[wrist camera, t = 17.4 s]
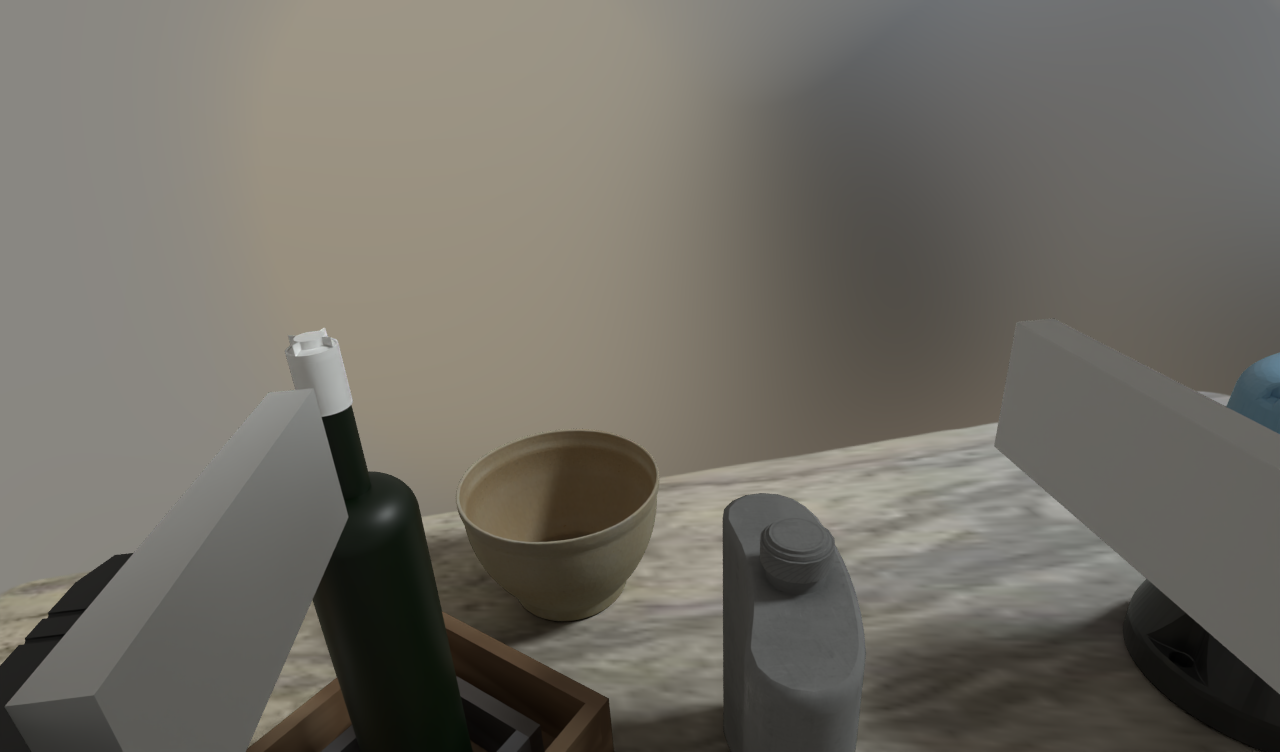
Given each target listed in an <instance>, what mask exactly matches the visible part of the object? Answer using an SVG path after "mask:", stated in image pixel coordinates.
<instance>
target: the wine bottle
mask: <svg viewBox="0 0 1280 752" xmlns="http://www.w3.org/2000/svg"><path fill="white" fill-rule="evenodd" d="M288 338H289V342H290V346H289V347H288V348H287V349H286V350H285V354H286V357H287V361H288V365H289V368H290V372H291V375H292V379H293V383H294V386H295V390H301V389H312V388H314V391H315V395H316V399H317V403H318V406H319V410H320V414H321V417H322V421H323V425H324V428H325V432H326V436H327V439H328V443H329V447H330V450H331V454H332V458H333V462H334V465H335V469H336V473H337V476H338V480H339V484H340V487H341V491H342V495H343V498H344V502H345V506H346V510H347V513H348V519H347V522H346V524H345V526H344V529H343V531H342V533H341V535H340V538H339V540H338V542H337V545H336V547H335V549H334V551H333V554H332V556H331V558H330V561H329V563H328V565H327V567H326V570H325V572H324V574H323V577H322V579H321V581H320V583H319V586H318V588H317V590H316V593H315V595H314V597H313V603H314V606H315V609H316V612H317V615H318V618H319V622H320V625H321V628H322V631H323V634H324V637H325V641H326V644H327V647H328V650H329V653H330V657H331V660H332V663H333V666H334V669H335V672H336V676H337V679H338V682H339V685H340V688H341V691H342V695H343V698H344V701H345V704H346V707H347V710H348V714H349V717H350V720H351V723H352V726H353V729H354V733H355V736H356V739H357V742H358V745H359V749H360V752H473V751H472V746H471V742H470V737H469V733H468V728H467V723H466V719H465V714H464V710H463V705H462V701H461V696H460V691H459V687H458V682H457V678H456V673H455V669H454V664H453V660H452V655H451V650H450V646H449V641H448V637H447V632H446V628H445V623H444V618H443V614H442V609H441V605H440V600H439V596H438V591H437V587H436V582H435V577H434V573H433V568H432V564H431V559H430V555H429V550H428V545H427V541H426V536H425V532H424V527H423V523H422V518H421V514H420V509H419V505H418V501H417V499H416V497H415V495H414V493H413V492H412V490H411V489H410V488H409V487H408V486H407V485H406V484H405V483H404V482H403V481H401V480H400V479H398V478H396V477H394V476H392V475H388V474H385V473H380V472H368V470H367V466H366V462H365V458H364V454H363V450H362V446H361V442H360V438H359V434H358V430H357V426H356V421H355V417H354V413H353V409H352V406H351V404H352V402H353V401H352V396H351V392H350V388H349V384H348V380H347V376H346V372H345V368H344V364H343V360H342V356H341V352H340V348H339V344H338V341H337V340H336V339H334V338H331V337H328V335H327V333H326V329H325V328H323V329H321V330H319V331H311V332H306V333H302V334H300V335H297V336H293V335H288Z"/></svg>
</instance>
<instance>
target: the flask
mask: <svg viewBox="0 0 1280 752" xmlns="http://www.w3.org/2000/svg"><path fill="white" fill-rule="evenodd" d="M865 657H866V651H865V638H864V629H863V623H862V617H861V612H860V608H859V604H858V600H857V596H856V592H855V590H854V587H853V584H852V581H851V578H850V575H849V573H848V570H847V568H846V566H845V563H844V561H843V559H842V557H841V555H840V553H839V551H838V549H837V547H836V546H835V542H834V537H833V536H832V535H831V533H830V532H829V530H827V529H826V528H824V527H823V525H822V524H821V523H820V521H819V520H818V519H817V517H816V516H815V515H814V514H813V513H812V512H810V511H809V510H808V509H807V508H806V507H805V506H803V505H802V504H800V503H798V502H797V501H795V500H794V499H791V498H788V497H785V496H781V495H778V494H766V493H759V494H752V495H745V496H743V497H741V498H738V499H736V500H734V501H732V502H731V503H730V504H729V505H728V506H727V507H726V508H725V509H724V514H723V690H724V734H725V737H726V740H727V742H728V745H729V748H730V751H731V752H855V750H856V741H857V731H858V722H859V713H860V704H861V694H862V685H863V676H864V667H865Z"/></svg>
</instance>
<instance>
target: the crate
mask: <svg viewBox="0 0 1280 752" xmlns="http://www.w3.org/2000/svg"><path fill="white" fill-rule="evenodd" d="M442 614H443V618H444V623H445V628H446V632H447V637H448V641H449V646H450V650H451V655H452V660H453V664H454V669H455V673H456V678H457V682H458V687H459V691H460V696H461V701H462V705H463V710H464V714H465V719H466V723H467V728H468V733H469V737H470V742H471V746H472V751H473V752H614V748H613V738H612V728H611V718H610V708H609V698H607V697H605V696H603V695H601V694H599V693H597V692H595V691H593V690H592V689H590V688H588V687H586V686H584V685H582V684H580V683H578V682H576V681H574V680H572V679H570V678H569V677H567V676H565V675H563V674H561V673H559V672H557V671H555V670H553V669H551V668H549V667H548V666H546V665H544V664H542V663H540V662H538V661H536V660H534V659H532V658H530V657H528V656H527V655H525V654H523V653H521V652H519V651H517V650H515V649H513V648H511V647H509V646H507V645H506V644H504V643H502V642H500V641H498V640H496V639H494V638H492V637H490V636H488V635H486V634H485V633H483V632H481V631H479V630H477V629H475V628H473V627H471V626H469V625H467V624H465V623H463V622H462V621H460V620H458V619H456V618H454V617H452V616H450V615H448V614H446V613H444V612H442ZM246 752H360V749H359V745H358V742H357V739H356V736H355V733H354V729H353V726H352V723H351V720H350V717H349V714H348V710H347V707H346V704H345V701H344V698H343V695H342V691H341V688H340V685H339V682H338V679H337V678H336V679H334V680H333V681H332V682H331V683H329V684H328V685H327V686H326V687H324V688H323V689H322V690H321V691H319V692H318V693H317V694H316V695H314V696H313V697H312V698H311V699H309V700H308V701H307V702H306V703H304V704H303V705H302V706H301V707H299V708H298V709H297V710H296V711H294V712H293V713H292V714H291V715H289V716H288V717H287V718H286V719H284V720H283V721H282V722H281V723H279V724H278V725H277V726H276V727H274V728H273V729H272V730H271V731H269V732H268V733H267V734H265V735H264V736H263V737H262V738H260V739H259V740H258V741H257V742H255V743H254V744H253V745H252V746H250V747H249V748H248V749H247V750H246Z"/></svg>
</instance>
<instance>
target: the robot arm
mask: <svg viewBox="0 0 1280 752" xmlns="http://www.w3.org/2000/svg"><path fill="white" fill-rule="evenodd" d="M994 446H995V447H996V448H997V449H998V450H999V451H1000V452H1002V453H1003V454H1004V455H1005V456H1006V457H1007V458H1008V459H1010V460H1011V461H1012V462H1013V463H1014V464H1015V465H1016V466H1018V467H1019V468H1020V469H1021V470H1022V471H1023V472H1025V473H1026V474H1027V475H1028V476H1029V477H1030V478H1031V479H1033V480H1034V481H1035V482H1036V483H1037V484H1038V485H1039V486H1041V487H1042V488H1043V489H1044V490H1045V491H1046V492H1048V493H1049V494H1050V495H1051V496H1052V497H1053V498H1054V499H1056V500H1057V501H1058V502H1059V503H1060V504H1061V505H1062V506H1064V507H1065V508H1066V509H1067V510H1068V511H1069V512H1071V513H1072V514H1073V515H1074V516H1075V517H1076V518H1077V519H1079V520H1080V521H1081V522H1082V523H1083V524H1084V525H1086V526H1087V527H1088V528H1089V529H1090V530H1091V531H1092V532H1094V533H1095V534H1096V535H1097V536H1098V537H1099V538H1100V539H1102V540H1103V541H1104V542H1105V543H1106V544H1107V545H1109V546H1110V547H1111V548H1112V549H1113V550H1114V551H1115V552H1117V553H1118V554H1119V555H1120V556H1121V557H1122V558H1123V559H1125V560H1126V561H1127V562H1128V563H1129V564H1130V565H1132V566H1133V567H1134V568H1135V569H1136V570H1137V571H1138V572H1140V573H1141V574H1142V575H1143V576H1144V577H1145V578H1146V580H1145V581H1144V582H1143V583H1142V584H1141V585H1140V586H1139V587H1138V589H1137V590H1136V591H1135V593H1134V595H1133V596H1132V599H1131V601H1130V604H1129V607H1128V611H1127V614H1126V617H1125V621H1124V625H1123V633H1124V639H1125V643H1126V646H1127V648H1128V650H1129V652H1130V655H1131V656H1132V658H1133V660H1134V661H1135V663H1136V664H1137V666H1138V667H1139V668H1140V670H1141V671H1142V672H1143V673H1144V675H1145V676H1146V677H1147V678H1148V679H1149V680H1150V681H1151V682H1152V683H1153V684H1154V685H1155V686H1156V687H1157V688H1158V689H1159V690H1160V691H1161V692H1162V693H1163V694H1165V695H1166V696H1167V697H1168V698H1169V699H1170V700H1172V701H1173V702H1174V703H1176V704H1177V705H1178V706H1180V707H1181V708H1182V709H1184V710H1185V711H1187V712H1188V713H1189V714H1191V715H1193V716H1194V717H1196V718H1197V719H1199V720H1200V721H1202V722H1204V723H1205V724H1207V725H1209V726H1210V727H1212V728H1214V729H1216V730H1218V731H1220V732H1222V733H1223V734H1225V735H1227V736H1229V737H1232V738H1234V739H1236V740H1238V741H1240V742H1242V743H1245V744H1247V745H1249V746H1252V747H1254V748H1257V749H1260V750H1262V751H1265V752H1280V353H1277V354H1274V355H1271V356H1268V357H1266V358H1263V359H1262V360H1259V361H1257V362H1256V363H1254V364H1252V365H1251V366H1250V367H1248V368H1247V369H1246V370H1245V371H1244V372H1243V373H1242V374H1241V376H1240V377H1239V379H1238V380H1237V383H1236V385H1235V387H1234V390H1233V392H1232V394H1231V397H1230V399H1229V402H1228V404H1227V406H1224V405H1222V404H1220V403H1218V402H1216V401H1214V400H1212V399H1210V398H1208V397H1206V396H1204V395H1202V394H1200V393H1198V392H1196V391H1194V390H1192V389H1191V388H1189V387H1187V386H1185V385H1182V384H1181V383H1179V382H1177V381H1175V380H1173V379H1171V378H1169V377H1167V376H1165V375H1163V374H1161V373H1159V372H1157V371H1155V370H1153V369H1151V368H1149V367H1148V366H1146V365H1144V364H1142V363H1140V362H1138V361H1136V360H1134V359H1132V358H1130V357H1128V356H1126V355H1124V354H1122V353H1120V352H1118V351H1116V350H1114V349H1112V348H1111V347H1109V346H1107V345H1105V344H1103V343H1101V342H1099V341H1097V340H1095V339H1093V338H1091V337H1089V336H1087V335H1085V334H1083V333H1081V332H1079V331H1077V330H1076V329H1074V328H1072V327H1070V326H1067V325H1066V324H1064V323H1062V322H1060V321H1058V320H1056V319H1044V320H1033V321H1022V322H1017V323H1016V329H1015V334H1014V340H1013V345H1012V351H1011V356H1010V362H1009V367H1008V374H1007V379H1006V384H1005V390H1004V395H1003V401H1002V407H1001V412H1000V417H999V423H998V428H997V434H996V439H995V445H994ZM347 519H348V513H347V510H346V506H345V502H344V498H343V495H342V491H341V487H340V484H339V480H338V476H337V473H336V469H335V465H334V462H333V458H332V454H331V450H330V447H329V443H328V439H327V436H326V432H325V428H324V425H323V421H322V417H321V414H320V410H319V406H318V403H317V399H316V395H315V391H314V388H312V389H301V390H291V391H280V392H269V393H268V394H267V395H266V396H265V398H264V399H263V400H262V401H261V402H260V404H259V405H258V406H257V407H256V408H255V410H254V411H253V412H252V413H251V414H250V415H249V417H248V418H247V419H246V420H245V421H244V423H243V424H242V425H241V426H240V427H239V428H238V430H237V431H236V432H235V433H234V435H233V436H232V437H231V438H230V439H229V441H228V442H227V443H226V444H225V445H224V446H223V447H222V449H221V450H220V451H219V452H218V453H217V455H216V456H215V457H214V458H213V459H212V461H211V462H210V463H209V464H208V465H207V467H206V468H205V469H204V470H203V471H202V473H201V474H200V475H199V476H198V477H197V478H196V480H195V481H194V482H193V483H192V484H191V486H190V487H189V488H188V489H187V490H186V492H185V493H184V494H183V495H182V497H180V499H179V500H178V501H177V502H176V503H175V505H174V506H173V507H172V508H171V510H170V511H169V512H168V513H167V514H166V515H165V516H164V518H163V519H162V520H161V521H160V523H159V524H158V525H157V526H156V527H155V528H154V530H153V531H152V532H151V533H150V534H149V535H148V537H147V538H146V539H145V540H144V541H143V543H142V544H141V545H140V546H139V547H138V549H137V550H136V551H135V552H134V553H130V554H121V555H114V556H113V557H111V558H110V559H109V560H107V561H106V562H104V563H103V564H101V565H100V566H99V567H97V568H96V569H94V570H93V571H91V572H90V573H89V574H87V575H86V576H84V577H83V578H81V579H80V580H79V581H77V582H76V583H75V584H74V585H73V586H72V587H71V588H70V589H69V590H68V591H67V593H66V594H65V595H64V596H63V597H62V598H61V599H60V600H59V601H58V603H57V604H56V605H55V606H54V607H53V608H52V609H51V610H50V611H49V612H48V618H47V619H42V620H41V621H40V622H39V624H38V625H37V626H36V627H35V628H34V629H33V630H32V631H31V632H30V633H29V635H28V636H27V637H26V638H25V644H24V645H19V646H18V647H17V648H16V649H15V650H14V651H13V652H12V653H11V654H10V656H9V657H8V658H7V659H6V660H5V661H4V662H3V663H2V664H1V666H0V752H246V750H247V748H248V745H249V743H250V741H251V739H252V736H253V734H254V732H255V729H256V727H257V725H258V723H259V720H260V718H261V716H262V713H263V711H264V709H265V707H266V704H267V702H268V700H269V698H270V695H271V693H272V691H273V688H274V686H275V684H276V682H277V679H278V677H279V675H280V672H281V670H282V668H283V666H284V663H285V661H286V659H287V656H288V654H289V652H290V650H291V647H292V645H293V643H294V640H295V638H296V636H297V634H298V631H299V629H300V627H301V624H302V622H303V620H304V618H305V615H306V613H307V611H308V608H309V606H310V604H311V602H312V599H313V597H314V595H315V593H316V590H317V588H318V586H319V583H320V581H321V579H322V577H323V574H324V572H325V570H326V567H327V565H328V563H329V561H330V558H331V556H332V554H333V551H334V549H335V547H336V545H337V542H338V540H339V538H340V535H341V533H342V531H343V529H344V526H345V524H346V522H347Z"/></svg>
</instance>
